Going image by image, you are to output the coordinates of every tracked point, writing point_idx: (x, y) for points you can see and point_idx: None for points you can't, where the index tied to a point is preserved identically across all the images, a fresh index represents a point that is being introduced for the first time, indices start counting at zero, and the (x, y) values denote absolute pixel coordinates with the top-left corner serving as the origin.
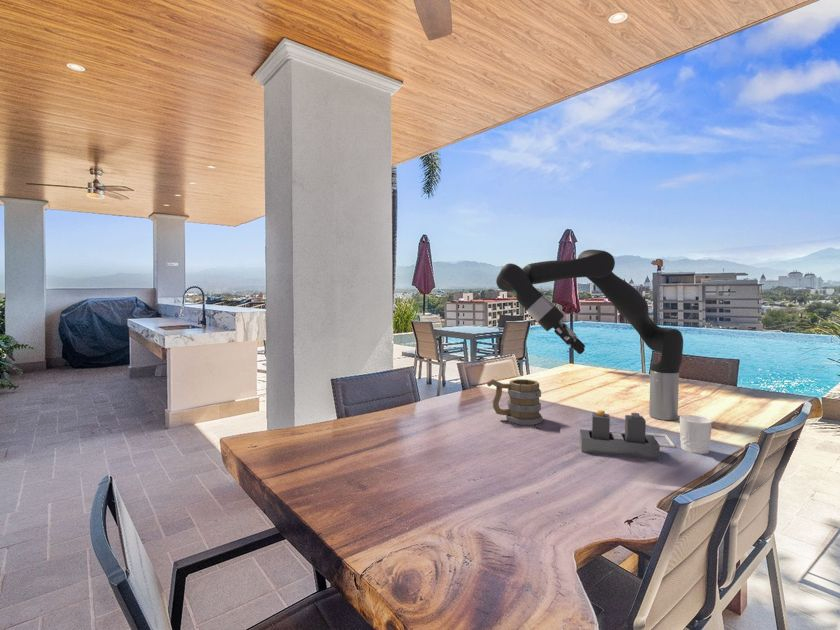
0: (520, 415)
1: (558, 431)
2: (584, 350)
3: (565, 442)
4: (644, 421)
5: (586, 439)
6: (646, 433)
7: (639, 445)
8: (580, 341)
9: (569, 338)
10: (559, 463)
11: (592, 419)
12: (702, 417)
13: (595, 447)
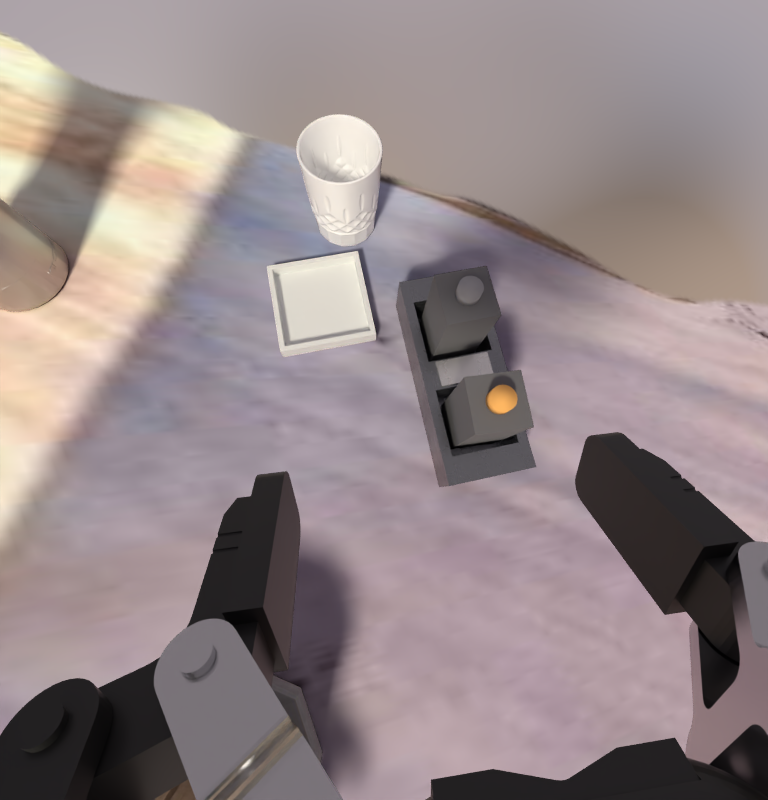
0: None
1: (334, 577)
2: (611, 434)
3: (433, 532)
4: (487, 270)
5: (531, 452)
6: (279, 313)
7: None
8: (272, 539)
9: (731, 696)
10: None
11: (495, 434)
12: (306, 131)
13: None
